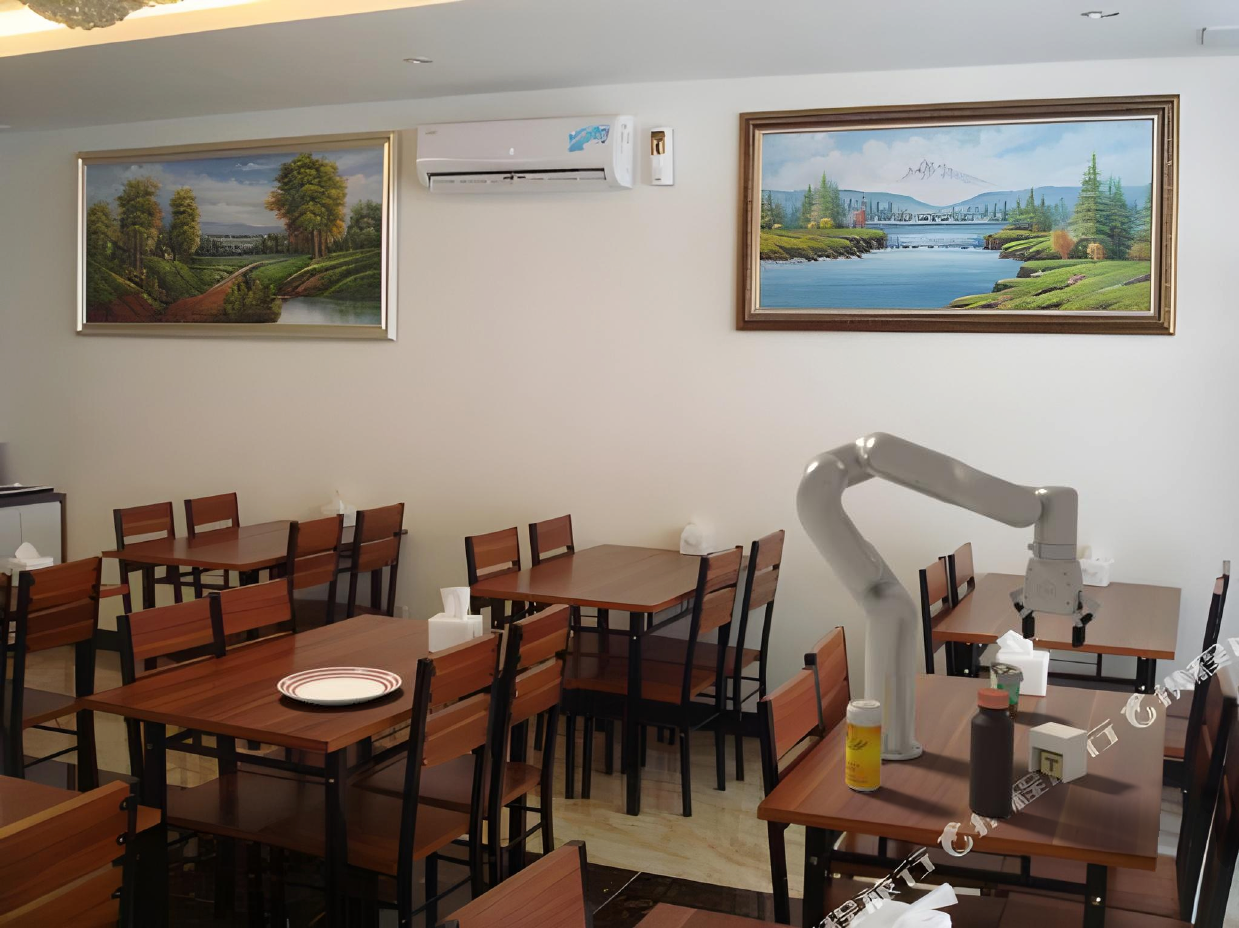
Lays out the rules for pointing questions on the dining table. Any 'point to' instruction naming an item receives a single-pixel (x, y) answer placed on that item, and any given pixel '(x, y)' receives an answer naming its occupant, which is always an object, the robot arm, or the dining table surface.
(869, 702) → the beer can
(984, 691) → the bottle
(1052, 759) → the letter cube
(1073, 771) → the cover
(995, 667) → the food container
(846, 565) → the robot arm
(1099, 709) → the dining table surface
